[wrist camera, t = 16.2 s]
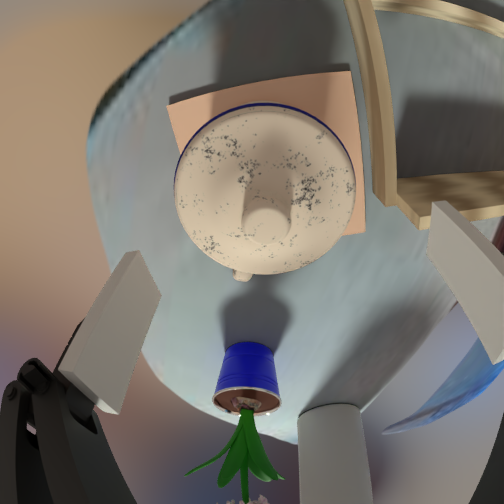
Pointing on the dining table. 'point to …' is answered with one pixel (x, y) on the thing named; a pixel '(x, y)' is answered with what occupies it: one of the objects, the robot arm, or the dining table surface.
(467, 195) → the frame
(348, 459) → the cylinder vase
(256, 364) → the hyacinth
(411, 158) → the dining table surface
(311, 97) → the terracotta tile
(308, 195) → the teacup with lid
